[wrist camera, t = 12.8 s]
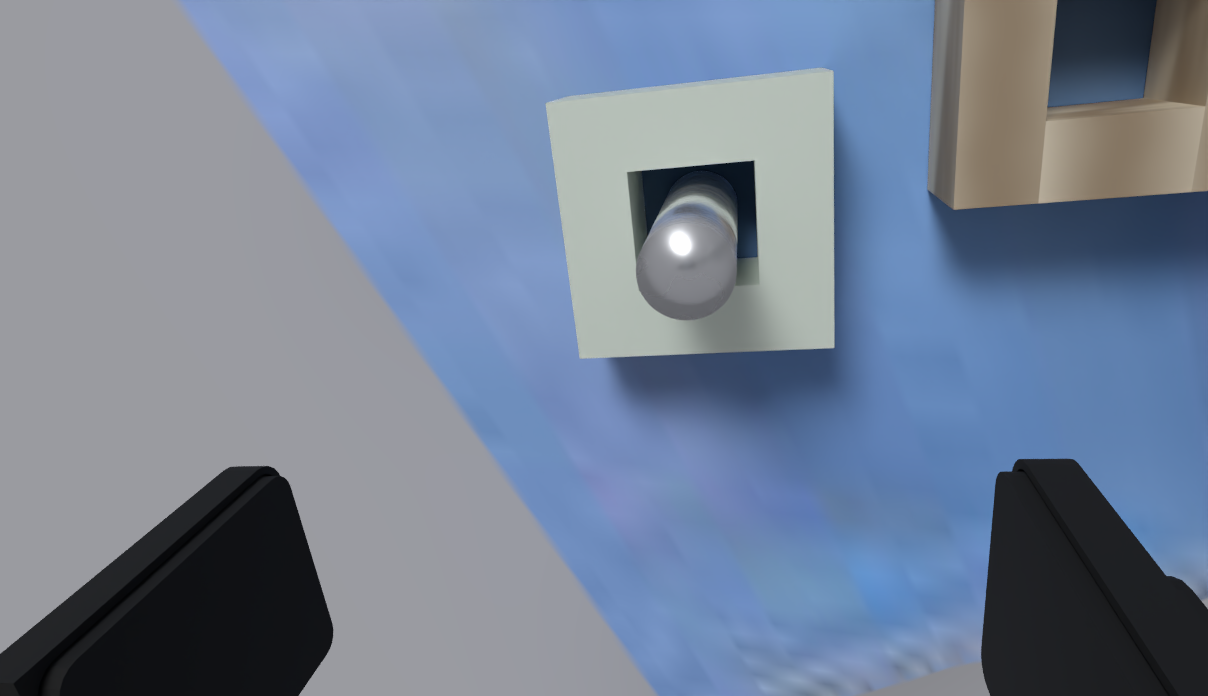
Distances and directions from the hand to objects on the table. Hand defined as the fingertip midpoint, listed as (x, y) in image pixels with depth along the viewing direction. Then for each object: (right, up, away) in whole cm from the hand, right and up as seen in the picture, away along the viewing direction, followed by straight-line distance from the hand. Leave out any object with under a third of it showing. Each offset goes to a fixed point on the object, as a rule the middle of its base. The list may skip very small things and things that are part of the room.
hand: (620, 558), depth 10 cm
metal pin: (+4, +9, +22) cm, 24 cm away
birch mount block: (+17, +14, +17) cm, 28 cm away
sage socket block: (+4, +9, +22) cm, 24 cm away
